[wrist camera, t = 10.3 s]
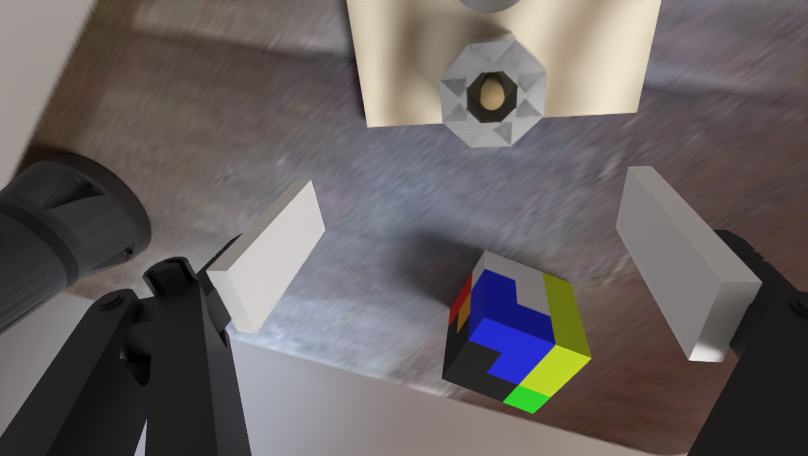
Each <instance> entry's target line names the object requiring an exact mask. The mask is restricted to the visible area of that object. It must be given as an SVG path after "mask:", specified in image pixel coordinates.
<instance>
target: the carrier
mask: <svg viewBox="0 0 808 456" xmlns="http://www.w3.org/2000/svg"><path fill="white" fill-rule="evenodd" d="M660 4H661V0H347V6H348V12H349V18H350V24H351V30H352V36H353V42H354V48H355V54H356V60H357V66H358V72H359V78H360V84H361V90H362V96H363V102H364V108H365V114H366V121H367V127H381V126H400V125H418V124H436V123H443V122H442V112H441V95H440V79H441V77H442V75H443V73H444V72H445V70H446V68H447V67H448V66H449V64H450V63H451V62H452V61H453V59H454V58H455V57H456V56H457V54H458V53H459V52H460V51H461V50H462V48H463V47H464V46H465V45H466V43H467V42H468V41H469V40H470V39H471V37H472V36H480V35H490V34H499V33H508V32H512V33H513V34H514V35H515V36H516V37H517V38H518V39H519V40H520V41H521V42H522V43H523V44H524V45H525V46H526V47H527V48H528V49H529V50H530V51H531V52H532V53H533V54H534V55H535V56H536V57H537V58H538V59H539V61H540V62H541V63H542V65H543V66H544V67H545V69H546V70H547V80H546V92H545V103H544V115H543V117H542V118H544V117H562V116H580V115H598V114H617V113H635V112H637V109H638V104H639V99H640V95H641V90H642V86H643V81H644V77H645V72H646V68H647V63H648V58H649V54H650V49H651V45H652V40H653V36H654V31H655V27H656V22H657V18H658V13H659V8H660ZM512 91H513V81H512V80H511V79H510V78H509V77H508V76H507V75H506V74H505V73H504V72H503V71H497V72H485V73H480V75H479V76H478V77H477V78H476V79H475V80H474V81H473V82H472V84H471V85H470V94H471V95H472V96H473V97H474V98H475V99H476V100H477V101H478V102H479V103H480V104H481V105H483V107H484V108H486V109H488V110H494V109H497V108H499V107H500V106H501V105H502V103H503V101H504V99H505V98H506V97H507V96H508V95H509V94H510V93H511V92H512Z"/></svg>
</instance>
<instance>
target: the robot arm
mask: <svg viewBox="0 0 808 456" xmlns="http://www.w3.org/2000/svg"><path fill="white" fill-rule="evenodd" d="M616 230H617V232H618V233H619V235H620V237H621V239H622V241H623V242H624V244H625V246H626V248H627V250H628V251H629V253H630V255H631V257H632V259H633V260H634V262H635V264H636V266H637V268H638V269H639V271H640V273H641V275H642V277H643V278H644V280H645V282H646V284H647V286H648V287H649V289H650V291H651V293H652V295H653V297H654V298H655V300H656V302H657V304H658V306H659V307H660V309H661V311H662V313H663V315H664V316H665V318H666V320H667V322H668V324H669V325H670V327H671V329H672V331H673V333H674V334H675V336H676V338H677V340H678V342H679V343H680V345H681V347H682V349H683V351H684V352H685V354H686V356H687V358H688V360H693V361H709V362H722V361H723V359H724V357H725V356H726V354H727V352H728V350H729V348H730V347H731V348H732V350H733V351H734V353H735V354H736V356H737V357H738V359H739V361H738V363H737V365H736V367H735V368H734V370H733V372H732V374H731V376H730V378H729V379H728V381H727V383H726V385H725V387H724V389H723V390H722V392H721V394H720V396H719V398H718V400H717V401H716V403H715V405H714V407H713V409H712V411H711V412H710V414H709V416H708V418H707V420H706V422H705V423H704V425H703V427H702V429H701V431H700V433H699V434H698V436H697V438H696V440H695V442H694V444H693V445H692V447H691V449H690V451H689V453H688V455H687V456H808V293H807V292H803V291H798V290H797V289H796V288H795V287H794V286H793V285H792V284H791V283H789V282H788V281H787V280H786V279H785V278H784V277H783V276H782V275H781V274H780V273H779V272H778V271H777V270H776V269H775V268H774V267H773V266H772V265H771V264H770V263H769V262H765V259H764V258H763V257H762V256H761V255H760V254H759V253H758V252H756V250H755V249H754V248H753V247H752V246H751V245H750V244H749V243H748V242H747V241H745V240H744V239H743V238H741V237H739V236H737V235H735V234H733V233H731V232H730V231H728V230H712V229H711V228H710V227H709V226H708V225H707V224H706V223H705V222H704V221H703V220H702V219H701V218H700V217H699V215H698V214H697V213H696V212H695V211H694V210H693V209H692V208H691V207H690V206H689V205H688V204H687V203H686V202H685V201H684V200H683V199H682V198H681V197H680V196H679V195H678V193H677V192H676V191H675V190H674V189H673V188H672V187H671V186H670V185H669V184H668V183H667V182H666V181H665V180H664V179H663V178H662V177H661V176H660V175H659V174H658V173H657V172H656V170H655V169H654V168H653V167H652V166H637V167H628V172H627V176H626V181H625V186H624V191H623V195H622V200H621V205H620V210H619V214H618V219H617V224H616ZM324 231H325V227H324V224H323V220H322V217H321V213H320V209H319V206H318V202H317V199H316V195H315V192H314V188H313V185H312V181H311V180H296V181H295V182H294V183H293V184H292V185H291V186H290V187H289V188H288V189H287V190H286V191H285V192H284V193H283V194H282V195H281V196H280V197H279V198H278V199H277V200H276V201H275V202H274V203H273V204H272V205H271V206H270V207H269V208H268V209H267V210H266V211H265V212H264V213H263V214H262V215H261V216H260V217H259V218H258V219H257V220H256V221H255V222H254V223H253V224H252V225H251V226H250V227H249V228H248V229H247V230H246V231H245V232H244V233H242V234H240V235H239V236H237V237H235V238H234V239H232V240H230V241H229V242H228V243H227V244H226V245H225V246H224V247H223V248H222V250H220V251H219V252H218V253H217V254H216V255H215V257H213V258H212V259H211V260H210V261H209V262H208V263H207V264H206V265H205V266H204V267H203V268H202V269H201V270H200V271H199V272H198V273H197V274H195V272H194V270H193V269H192V267H191V265H190V263H189V261H188V260H187V258H185V257H182V256H181V257H172V258H169V259H165V260H163V261H161V262H158V263H157V264H155V265H153V266H152V267H150V268H149V269H148V270H147V271H146V272H145V273H144V275H143V277H142V278H143V279H144V281H145V282H146V284H147V285H148V287H149V289H150V290H151V292H152V293H153V295H154V297H148V298H143V299H139V298H138V297H137V295H136V294H135V292H134V291H133V290H132V289H121V290H117V291H114V292H110V293H108V294H107V295H106V294H105V295H104V296H102V297H101V298H100V299H98V300H97V301H96V302H94V303H93V304H92V305H91V306H90V307H89V309H88V310H87V312H86V313H85V314H84V316H83V317H82V319H81V320H80V322H79V323H78V325H77V326H76V328H75V329H74V331H73V332H72V333H71V335H70V336H69V338H68V339H67V341H66V342H65V344H64V345H63V347H62V348H61V350H60V351H59V353H58V354H57V355H56V357H55V358H54V360H53V361H52V363H51V364H50V366H49V367H48V369H47V370H46V371H45V373H44V375H43V376H42V377H41V379H40V381H39V382H38V383H37V385H36V386H35V388H34V389H33V390H32V392H31V393H30V395H29V396H28V398H27V399H26V401H25V402H24V404H23V405H22V407H21V408H20V410H19V411H18V413H17V414H16V415H15V417H14V418H13V420H12V421H11V423H10V424H9V426H8V427H7V429H6V430H5V432H4V433H3V434H2V436H1V437H0V456H134V454H135V451H136V448H137V445H138V442H139V440H140V437H141V434H142V431H143V428H144V425H145V422H146V419H147V429H146V444H145V445H146V446H145V456H252V455H251V450H250V445H249V440H248V434H247V429H246V424H245V419H244V414H243V408H242V403H241V398H240V393H239V387H238V382H237V377H236V371H235V366H234V361H233V355H232V350H231V345H230V339H229V335H228V333H227V331H226V329H225V327H226V326H227V325H228V323H229V322H230V321H231V320H232V322H233V324H234V326H235V328H236V330H237V332H248V333H257V332H258V330H259V329H260V327H261V326H262V324H263V323H264V321H265V320H266V318H267V317H268V315H269V314H270V312H271V311H272V309H273V308H274V306H275V305H276V303H277V302H278V300H279V299H280V297H281V296H282V294H283V293H284V291H285V290H286V288H287V287H288V285H289V284H290V282H291V281H292V279H293V278H294V276H295V275H296V273H297V272H298V270H299V269H300V267H301V266H302V264H303V263H304V261H305V260H306V258H307V257H308V255H309V254H310V252H311V251H312V249H313V248H314V246H315V245H316V243H317V242H318V240H319V239H320V237H321V236H322V234H323V233H324ZM150 240H151V227H150V223H149V219H148V217H147V215H146V212H145V210H144V209H143V207H142V205H141V204H140V202H139V201H138V199H137V198H136V197H135V195H134V194H133V193H132V192H131V191H130V189H129V188H128V187H127V186H126V185H125V184H124V183H123V182H122V181H120V180H119V179H118V178H117V177H116V176H115V175H113V174H112V173H111V172H109V171H108V170H106V169H105V168H103V167H102V166H100V165H98V164H96V163H94V162H92V161H90V160H88V159H86V158H83V157H80V156H76V155H71V154H57V155H53V156H50V157H47V158H45V159H42V160H40V161H37V162H35V163H33V164H31V165H30V166H28V167H27V168H26V169H25V170H24V171H23V172H21V173H20V174H19V175H18V176H17V177H16V178H15V179H14V180H12V181H11V182H10V183H9V184H8V185H7V186H6V187H4V188H3V189H2V190H1V191H0V335H1V334H3V333H4V332H6V331H7V330H9V329H10V328H11V327H13V326H14V325H16V324H17V323H18V322H20V321H21V320H23V319H24V318H26V316H28V315H30V314H31V313H33V312H34V311H35V310H36V309H38V308H40V307H41V306H42V305H44V304H45V303H46V302H48V301H49V300H51V299H52V298H54V297H55V296H56V295H58V294H59V293H61V292H62V291H63V290H65V289H66V288H67V287H69V286H70V285H72V284H73V283H75V282H76V281H78V280H79V279H81V278H84V277H87V276H89V275H92V274H95V273H98V272H101V271H104V270H107V269H109V268H112V267H115V266H118V265H121V264H124V263H126V262H128V261H130V260H132V259H133V258H135V257H136V256H137V255H139V254H140V253H141V252H143V251H144V250H145V249H146V248H147V247H148V245H149V243H150ZM120 356H121V357H122V358H120Z"/></svg>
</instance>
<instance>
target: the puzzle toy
mask: <svg viewBox="0 0 808 456" xmlns="http://www.w3.org/2000/svg"><path fill="white" fill-rule="evenodd" d="M590 359H591V354H590V351H589V347H588V344H587V340H586V336H585V333H584V329H583V326H582V322H581V318H580V315H579V311H578V308H577V304H576V300H575V297H574V293H573V290H572V286H571V283H570V282H567V281H565V280H562V279H559V278H557V277H554V276H552V275H549V274H546V273H544V272H541V271H539V270H536V269H533V268H531V267H528V266H526V265H523V264H521V263H518V262H515V261H513V260H510V259H508V258H505V257H502V256H500V255H497V254H495V253H492V252H489V251H487V250H485V251H484V253H483V254H482V256H481V258H480V259H479V261H478V263H477V264H476V266H475V268H474V270H473V271H472V273H471V275H470V276H469V278H468V280H467V281H466V283H465V285H464V287H463V288H462V290H461V292H460V293H459V295H458V297H457V298H456V300H455V302H454V304H453V305H452V307H451V309H450V316H449V325H448V333H447V341H446V349H445V357H444V365H443V373H442V379H444V380H446V381H449V382H451V383H454V384H457V385H459V386H462V387H465V388H467V389H470V390H473V391H475V392H478V393H480V394H483V395H486V396H488V397H491V398H494V399H496V400H499V401H501V402H504V403H507V404H509V405H512V406H515V407H517V408H520V409H523V410H525V411H528V412H530V413H534V412H535V411H536V410H537V409H539V408H540V407H541V406H542V405H543V404H544V403H545V402H546V401H547V400H548V399H549V398H550V397H551V396H552V395H553V394H554V393H555V392H557V391H558V390H559V389H560V388H561V387H562V386H563V385H564V384H565V383H566V382H567V381H568V380H569V379H570V378H571V377H572V376H573V375H575V374H576V373H577V372H578V371H579V370H580V369H581V368H582V367H583V366H584V365H585V364H586V363H587V362H588V361H589V360H590Z"/></svg>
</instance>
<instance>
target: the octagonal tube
mask: <svg viewBox="0 0 808 456" xmlns="http://www.w3.org/2000/svg"><path fill="white" fill-rule="evenodd" d="M497 71H503V72H504V73H505V74H506V75H507V76H508V77H509V78H510V79H511V80H512V81H513V91H512V92H511V93H510V94H509V95H508V96H507V97H506V98H505V99H504V101H503V103H502V105H501V106H500V107H499V108H497V109H494V110H488V109H486V108H484V107H483V105H481V104H480V103H479V102H478V101H477V100H476V99H475V98H474V97H473V96H472V95H471V94H470V85H471V84H472V82H473V81H474V80H475V79H476V78H477V77H478V76H479V75H480V73H485V72H497ZM546 80H547V70H546V69H545V67H544V66H543V65H542V63H541V62H540V61H539V59H538V58H537V57H536V56H535V55H534V54H533V53H532V52H531V51H530V50H529V49H528V48H527V47H526V46H525V45H524V44H523V43H522V42H521V41H520V40H519V39H518V38H517V37H516V36H515V35H514V34H513V33H512V32H508V33H499V34H490V35H480V36H472V37H471V39H470V40H469V41H468V42H467V43H466V45H465V46H464V47H463V48H462V50H461V51H460V52H459V53H458V54H457V56H456V57H455V58H454V59H453V61H452V62H451V63H450V64H449V66H448V67H447V68H446V70H445V72H444V73H443V75H442V77H441V79H440V95H441V112H442V122H443V123H444V124H445V125H446V126H447V127H448V128H449V129H450V130H452V131H453V132H454V133H455V134H456V135H457V136H458V137H459V138H461V139H462V140H463V141H464V142H465V143H466V144H467V145H468V146H470V147H471V148H477V147H502V146H512V145H513V144H514V143H515V142H516V141H517V140H518V139H519V138H521V137H522V136H523V135H524V134H525V133H526V132H527V131H528V130H529V129H530V128H531V127H532V126H533V125H535V124H536V123H537V122H538V121H539V120H540V119H541V118H542V117H543V115H544V103H545V92H546Z"/></svg>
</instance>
